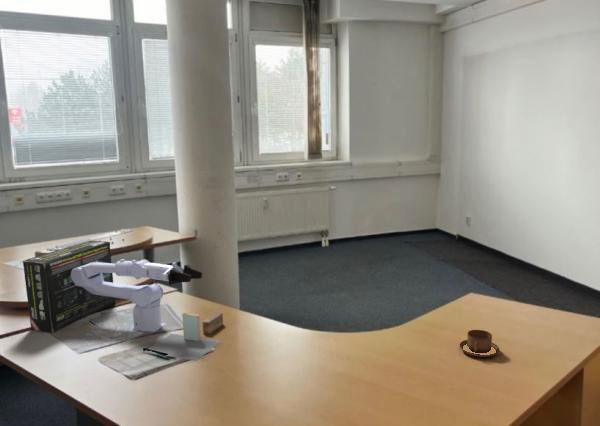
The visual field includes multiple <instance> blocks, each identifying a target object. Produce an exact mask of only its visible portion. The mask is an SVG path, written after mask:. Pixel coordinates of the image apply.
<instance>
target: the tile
mask: <svg viewBox="0 0 600 426" xmlns="http://www.w3.org/2000/svg"><path fill="white" fill-rule="evenodd" d="M181 316H182V328H183V329H182V330H183V336H184V339H186V340H193V341H200V340H201V338H202V335H201V334H202V333H201V318H200V317H201V316H200V314H194V313H188V312H187V313H185V312H184V313H182V315H181Z"/></svg>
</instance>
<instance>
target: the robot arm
mask: <svg viewBox="0 0 600 426" xmlns="http://www.w3.org/2000/svg"><path fill="white" fill-rule="evenodd" d="M102 273H113V274H115V275H116V276H117V277H127V278H128V277H129V278H130V277H131V278H135V279H136V280H140V279H142V278H145V279H151V280H158V281H165V282H167V283H168V285H169V286H171V285H174V284H179V283H189V282H191V280H192V279H193V280H194V279H202V278H203V272H202V271H200V270H198V269H195V268H193V267H192V266H191V265H189V264H184V266H183V267H181V266H178V262H172V263H171V265H170V264H165V263H164V264H163V263H157V262H150V261H149V260H148V259H144V258H142V259H141V260H138V261H137V259H132V260H126V259H125V258H122V259H119V260H118V261H117V262H115V263H112V262H111V263H101V262H90V263H88V264H86V265H83V266H80V267H77V268H74V269H73V270H72V271H71V278H72V280H73V282H74V283H75V285H76V286H80V287H83V288H84V289H86V290H87V291H89V292H91V293H92V294H95V295H101V296H108V297H115V299H116V298H117V299H125V300H131V303H132V304H134V306H133V310H132V317H133V328H132V330H133V331H140V332H141V331H142V332H152V333H154V332H156V331H158V330H159V329H162V328H163V327H165V326H166V325H167V323H165V322H162V313H161V299H162V298H163V296H164V290H163V287H162V286H161V285H160V284H158V283H151V284H144V285H133V284H125V283H119V282H113V283H111V282H104V278H103V275H102Z"/></svg>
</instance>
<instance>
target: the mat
mask: <svg viewBox="0 0 600 426" xmlns="http://www.w3.org/2000/svg"><path fill="white" fill-rule="evenodd" d="M220 342H221V340H219V339H217V340H216V339H212V338H211V339H210V338H203V337H201V340H200V341H193V340H186V339H184V335H182V334H181V335H180V334H172V333H170V334H169V335H167V336H166V337H164V338H162V339H161V340H160V341H158V342H156V343H155V344H152V345H151V346H150V347H149V348H148V349H152V350H156V351H160V352H164V353H167V354H168V355H166V356H165V357H172V358H178V359H184V360H190V361H198V360H199V359H201V357H203V356H204V355H205V354H207V353H208V352H209V351H211V350H212V349H213V348H214V347H216V346H217V345H218V344H219V343H220ZM143 353H144V354H151V355H158V354H157V353H155V352H152V351H147V349H146V350H144V351H142V354H143ZM158 356H159V355H158Z"/></svg>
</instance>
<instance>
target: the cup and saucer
mask: <svg viewBox="0 0 600 426" xmlns="http://www.w3.org/2000/svg"><path fill="white" fill-rule="evenodd" d="M466 344H467V346H468V347H469V349H470V350H471V351H472V352H475V353H487V352H489V351H490V350H491V347H493V348H494V349H495V350H496V353H494V354H490V355H480V354H474V353H470V352H467V351H465V350H463V346H464V345H466ZM459 348H460V350H461V351H463V353H465V354H467V355H469V356H474V357H476V356H477V358H478V357H479V358H489V357H490V356H491V357H493V356H496V355H498V353H499V352H500V347H499V345H498V344H496V343H494V342H493V334H492V333H491V332H489V331H487V330H484V329H471V330H469V331H468V332H467V339H465V340H462V341H461V342H460V343H459Z"/></svg>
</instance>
